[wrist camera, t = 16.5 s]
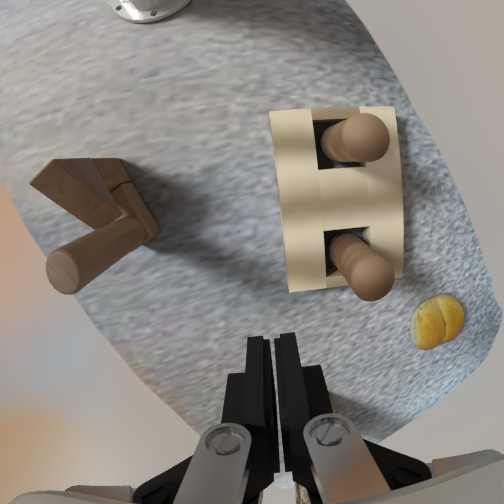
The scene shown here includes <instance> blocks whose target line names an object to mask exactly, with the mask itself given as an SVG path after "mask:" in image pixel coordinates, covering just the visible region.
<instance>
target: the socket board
mask: <svg viewBox="0 0 504 504" xmlns="http://www.w3.org/2000/svg"><path fill="white" fill-rule="evenodd" d="M360 113H369V114H373V115H375V116H377V117H378V118H380V119H381V120H382V121H383V122H384V124H385V125H386V127H387V129H388V131H389V136H390V144H389V148H388V150H387V152H386V153H385V155H384V156H383V157H382V158H380V159H379V160H376V161H373V162H358V166H356V167H340V168H326V169H318V164H317V155H316V146H315V138H314V130H313V123H324V122H342V121H344V120H346V119H348V118H350V117H352V116H354V115H357V114H360ZM269 119H270V127H271V135H272V143H273V151H274V159H275V167H276V176H277V185H278V194H279V203H280V212H281V222H282V232H283V241H284V252H285V262H286V273H287V283H288V288H289V292H299V291H307V290H315V289H324V288H331V287H339V286H347V285H349V284H348V282H347V281H346V280H345V278H344V277H343V275H342V274H341V272H340V271H339V270H338V268H337V267H334V268H326V266H325V248H324V233H323V231H328V230H338V229H347V228H357V227H362V240H363V242H364V243H366V244H367V245H368V246H369V247H371V248H372V249H373V250H374V251H375V252H377V253H378V254H379V255H380V256H382V257H383V258H384V259H385V260H386V261H388V262H389V263H390V264H391V266H392V268H393V270H394V275H395V278H394V279H396V278H403V251H404V225H403V192H402V175H401V162H400V150H399V140H398V132H397V123H396V116H395V108H394V107H327V108H308V109H294V110H281V111H271V112H270V114H269Z"/></svg>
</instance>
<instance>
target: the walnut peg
mask: <svg viewBox="0 0 504 504" xmlns="http://www.w3.org/2000/svg"><path fill="white" fill-rule="evenodd" d="M328 247H329V256H330V258H331V261H332V263H333V264H334V265H335V266H336V267H337V268H338V270H339V271H340V272H341V274H342V275H343V277H344V278H345V280H346V281H347V282H348V284H349V285H350V287H351V288H352V290H353V291H354V293H355V294H356V295H357V296H358V297H359V298H360V299H362V300H364V301H376V300H379V299H381V298H383V297H384V296H385V295H387V294H388V292H389V291H390V290H391V288H392V286H393V283H394V278H395V275H394V270H393V268H392V266H391V264H390V263H389V262H388V261H386V260H385V259H384V258H383V257H382V256H380V255H379V254H378V253H377V252H375V251H374V250H373V249H372V248H371V247H369V246H368V245H367V244H366V243H364V242H363V240H362V239H361V238H360V237H358V236H357V235H354V234H352V233H349V232H338V233H336V234H334V235H333V236H332V237H331V238H330V240H329V244H328Z"/></svg>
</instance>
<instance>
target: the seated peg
mask: <svg viewBox="0 0 504 504" xmlns="http://www.w3.org/2000/svg"><path fill="white" fill-rule="evenodd" d="M389 144H390V136H389V131H388V129H387V127H386V125H385V124H384V122H383V121H382V120H381V119H380V118H378V117H377V116H375V115H373V114H369V113H360V114H357V115H354V116H352V117H350V118H348V119H346V120H344V121H342V122H340V123H338V124H334V125H332V126H330V127H328V128H327V129H326V130H325V131H324V132H323V134H322V136H321V138H320V147H321V150H322V152H323V154H324V155H325V156H326V157H327V158H328V159H330V160H332V161H334V162H338V163H345V162H373V161H376V160H379V159H380V158H382V157H383V156H384V155H385V153H386V152H387V150H388V148H389Z"/></svg>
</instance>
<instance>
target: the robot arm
mask: <svg viewBox="0 0 504 504" xmlns="http://www.w3.org/2000/svg"><path fill="white" fill-rule="evenodd" d="M190 1H191V0H109V3H110V6H111V9H112V10H113V11H114V12H115V14H117V15H118V16H119V17H120V18H122V19H124V20H125V21H129V22H132V23H149V22H153V21H158V20H161V19H163V18H166V17H169V16H170V15H172V14H174V13H176V12H178V11H179V10H181V9H182V8H184V7H185V6H186V5H187V4H188V3H189V2H190ZM274 344H275V358H276V372H277V386H278V401H279V414H280V424H281V434H282V443H283V453H284V463H285V472H291V471H292V475H293V481H294V482H296V483H297V484H299V485H301V486H302V487H304V488H305V494H306V497H307V500H308V503H309V504H504V454H501V453H500V452H498V451H495V450H492V449H491V450H483V451H478V452H473V453H469V454H464V455H458V456H453V457H447V458H440V459H434V460H433V461H432V463H426V464H425V463H424V462H422V461H420V460H418V459H415V458H411V457H409V456H406V455H404V454H401V453H398V452H395V451H392V450H390V449H387V448H385V447H382V446H380V445H377V444H375V443H372V442H370V441H367V440H365V439H362V437H361V435H360V434H359V432H358V430H357V428H356V426H355V424H354V423H353V422H352V421H351V420H350V419H349V418H347V417H346V416H343V415H340V414H334V413H333V409H332V405H331V401H330V398H329V394H328V390H327V386H326V383H325V379H324V375H323V372H322V368H321V365H313V366H306V367H301V362H300V357H299V352H298V346H297V341H296V336H295V332H293V333H285V334H280V338H275V339H274ZM274 473H280V460H279V441H278V423H277V405H276V393H275V384H274V376H273V367H272V358H271V349H270V341H269V339H265V340H264V339H263V336H255V337H248V339H247V354H246V369H245V373H231V374H228V379H227V386H226V393H225V400H224V407H223V414H222V421H221V424H218V425H215V426H213V427H211V428H209V429H208V430H206V431H205V432H204V433H203V435H202V436H201V438H200V440H199V443H198V445H197V447H196V450H195V452H194V455H192V456H190V457H189V458H187V459H186V460H184V461H182V462H180V463H179V464H177V465H175V466H174V467H172V468H170V469H169V470H167V471H165V472H163V473H161V474H160V475H158V476H156V477H154V478H152V479H150V480H149V481H147V482H145V483H143V484H142V485H141V486H139V487H138V488H132V487H131V486H85V485H77V486H71V487H69V488H67V489H66V490H65V491H53V490H48V491H33V492H28V493H24V494H21V495H19V496H17V497H16V498H15V499H14V500H13V501H12V502H11V503H10V504H261V503H262V498H263V490H264V489H265V488H266V487H268V486H269V485H270V484H271V483H272V482H274Z"/></svg>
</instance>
